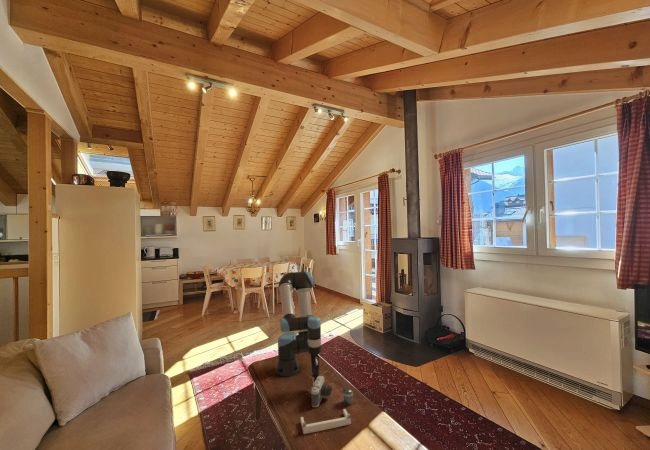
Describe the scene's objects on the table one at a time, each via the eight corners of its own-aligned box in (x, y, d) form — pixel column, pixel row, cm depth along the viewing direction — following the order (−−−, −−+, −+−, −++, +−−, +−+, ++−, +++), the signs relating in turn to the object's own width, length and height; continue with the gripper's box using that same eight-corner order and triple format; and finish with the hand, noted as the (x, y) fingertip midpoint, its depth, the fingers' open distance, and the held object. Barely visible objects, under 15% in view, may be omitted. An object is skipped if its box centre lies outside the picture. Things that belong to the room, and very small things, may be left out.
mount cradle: (300, 422, 134) (300, 412, 134) (345, 413, 139) (345, 404, 139) (303, 434, 126) (303, 424, 126) (350, 424, 131) (350, 415, 131)
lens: (341, 401, 149) (341, 388, 149) (351, 399, 150) (351, 386, 150) (344, 407, 144) (344, 393, 144) (354, 405, 145) (354, 392, 145)
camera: (309, 407, 144) (309, 387, 145) (318, 389, 160) (317, 371, 160) (326, 410, 142) (326, 389, 142) (333, 392, 158) (333, 373, 158)
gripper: (306, 341, 166) (307, 382, 165) (310, 350, 153) (311, 394, 153) (318, 340, 168) (319, 380, 167) (323, 349, 155) (324, 392, 154)
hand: (315, 386), depth 160 cm, fingers closed
